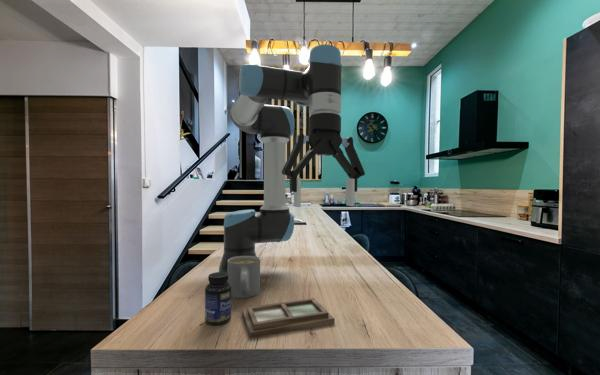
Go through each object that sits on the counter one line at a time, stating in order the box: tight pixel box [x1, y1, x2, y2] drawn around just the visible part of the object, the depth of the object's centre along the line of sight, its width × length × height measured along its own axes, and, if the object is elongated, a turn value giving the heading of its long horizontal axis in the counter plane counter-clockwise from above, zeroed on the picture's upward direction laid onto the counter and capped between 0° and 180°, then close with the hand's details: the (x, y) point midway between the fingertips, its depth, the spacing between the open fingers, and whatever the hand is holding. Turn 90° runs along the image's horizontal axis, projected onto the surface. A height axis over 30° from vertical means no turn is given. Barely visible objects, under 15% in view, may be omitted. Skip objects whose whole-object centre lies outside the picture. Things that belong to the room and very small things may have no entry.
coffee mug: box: [227, 255, 261, 299], centre depth 86 cm, size 13×10×10 cm
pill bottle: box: [204, 271, 232, 326], centre depth 69 cm, size 6×6×11 cm
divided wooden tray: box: [242, 297, 335, 339], centre depth 70 cm, size 12×20×2 cm, turn 109°
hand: (324, 206), depth 66 cm, fingers open, 13 cm apart
